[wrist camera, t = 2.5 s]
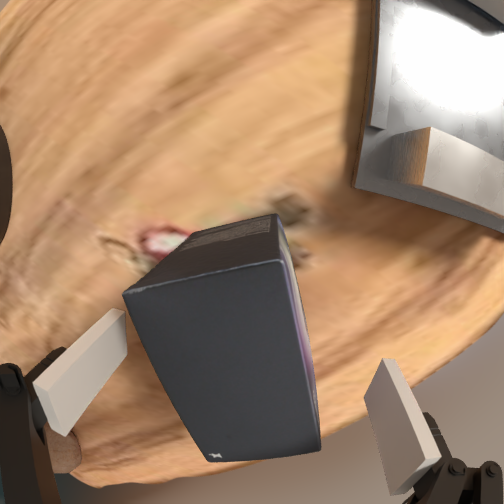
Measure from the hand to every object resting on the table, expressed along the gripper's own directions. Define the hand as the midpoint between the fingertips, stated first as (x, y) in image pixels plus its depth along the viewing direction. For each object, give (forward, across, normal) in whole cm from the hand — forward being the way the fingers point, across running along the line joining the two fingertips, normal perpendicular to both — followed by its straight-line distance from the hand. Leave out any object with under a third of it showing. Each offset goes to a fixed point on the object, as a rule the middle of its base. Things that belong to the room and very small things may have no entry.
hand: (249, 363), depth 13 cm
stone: (+8, -26, -29) cm, 39 cm away
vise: (+8, +12, +20) cm, 25 cm away
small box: (+8, 0, 0) cm, 8 cm away
